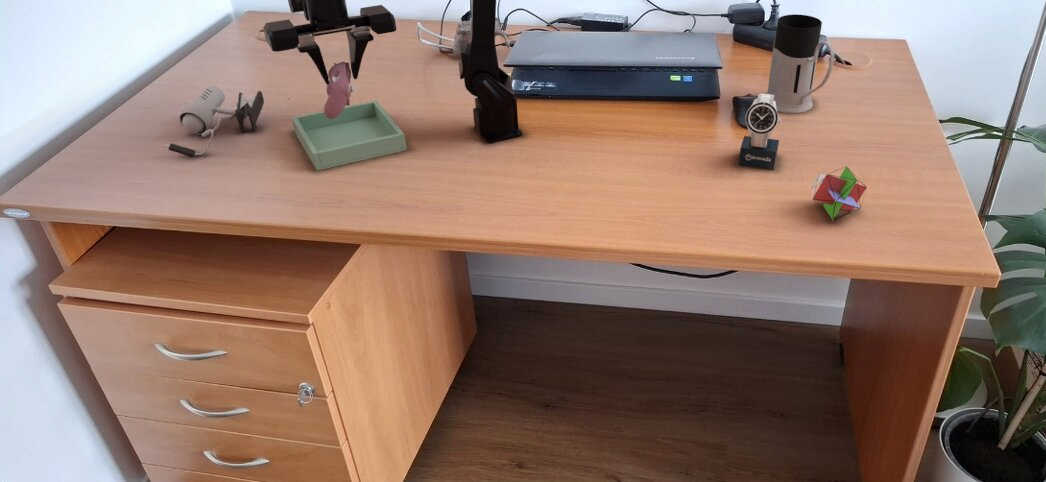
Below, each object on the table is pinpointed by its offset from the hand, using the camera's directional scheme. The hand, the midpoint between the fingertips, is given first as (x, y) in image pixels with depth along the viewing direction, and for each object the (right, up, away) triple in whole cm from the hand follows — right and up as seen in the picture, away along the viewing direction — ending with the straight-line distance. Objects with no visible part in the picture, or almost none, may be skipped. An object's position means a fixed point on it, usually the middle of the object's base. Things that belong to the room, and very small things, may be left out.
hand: (341, 81), depth 129 cm
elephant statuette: (+17, +14, +39) cm, 45 cm away
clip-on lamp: (-24, -7, +9) cm, 26 cm away
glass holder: (+76, -1, +18) cm, 79 cm away
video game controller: (+1, -3, 0) cm, 4 cm away
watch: (+66, -13, +1) cm, 67 cm away
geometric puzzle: (+75, -22, -12) cm, 79 cm away
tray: (-1, -8, +7) cm, 11 cm away
